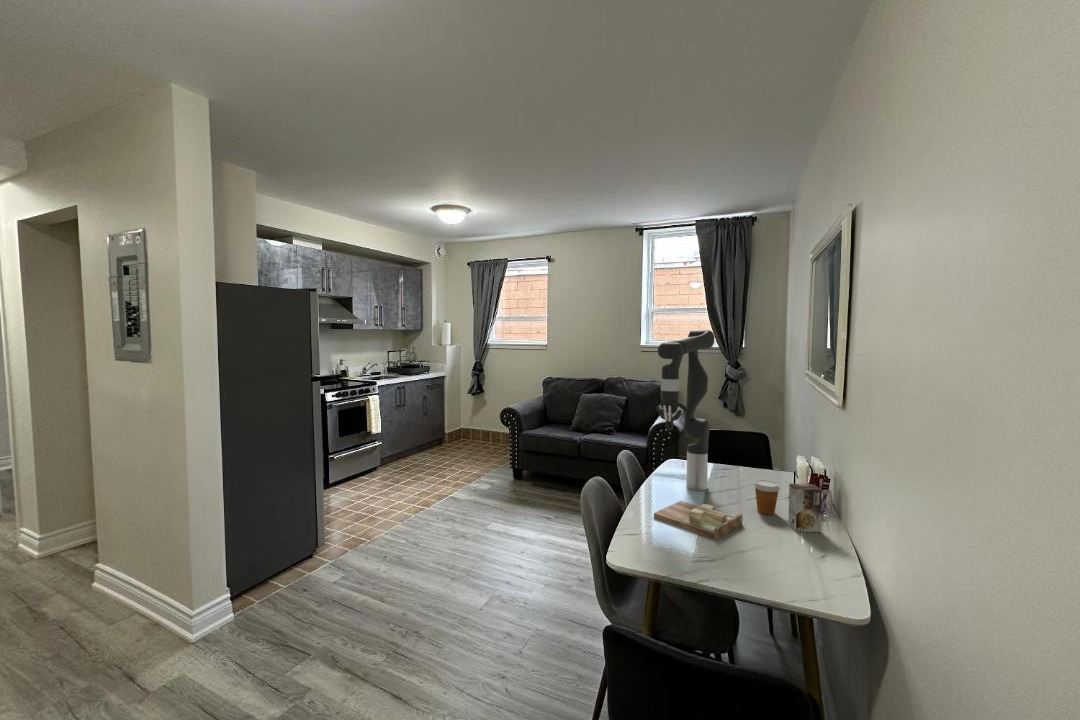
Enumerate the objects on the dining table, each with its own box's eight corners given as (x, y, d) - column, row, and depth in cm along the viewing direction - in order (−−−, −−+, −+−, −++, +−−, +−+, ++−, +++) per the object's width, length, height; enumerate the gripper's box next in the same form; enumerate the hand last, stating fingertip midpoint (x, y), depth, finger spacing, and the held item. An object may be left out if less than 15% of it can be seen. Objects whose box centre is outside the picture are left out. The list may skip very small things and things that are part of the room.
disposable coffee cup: (767, 517, 177) (768, 488, 176) (747, 509, 186) (748, 481, 185) (784, 514, 181) (785, 485, 180) (764, 506, 189) (765, 478, 189)
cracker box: (812, 525, 170) (813, 483, 169) (821, 532, 164) (822, 489, 163) (787, 524, 171) (788, 482, 170) (795, 531, 165) (796, 488, 164)
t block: (704, 512, 178) (704, 503, 177) (732, 520, 169) (732, 511, 169) (688, 520, 170) (689, 511, 169) (716, 529, 161) (717, 519, 161)
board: (680, 505, 190) (680, 496, 190) (742, 524, 171) (742, 514, 170) (653, 517, 177) (653, 507, 176) (717, 540, 157) (717, 528, 157)
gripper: (688, 390, 188) (687, 431, 188) (661, 387, 197) (660, 426, 198) (679, 391, 183) (678, 433, 183) (651, 388, 192) (650, 428, 193)
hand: (669, 429), depth 191 cm, fingers closed
